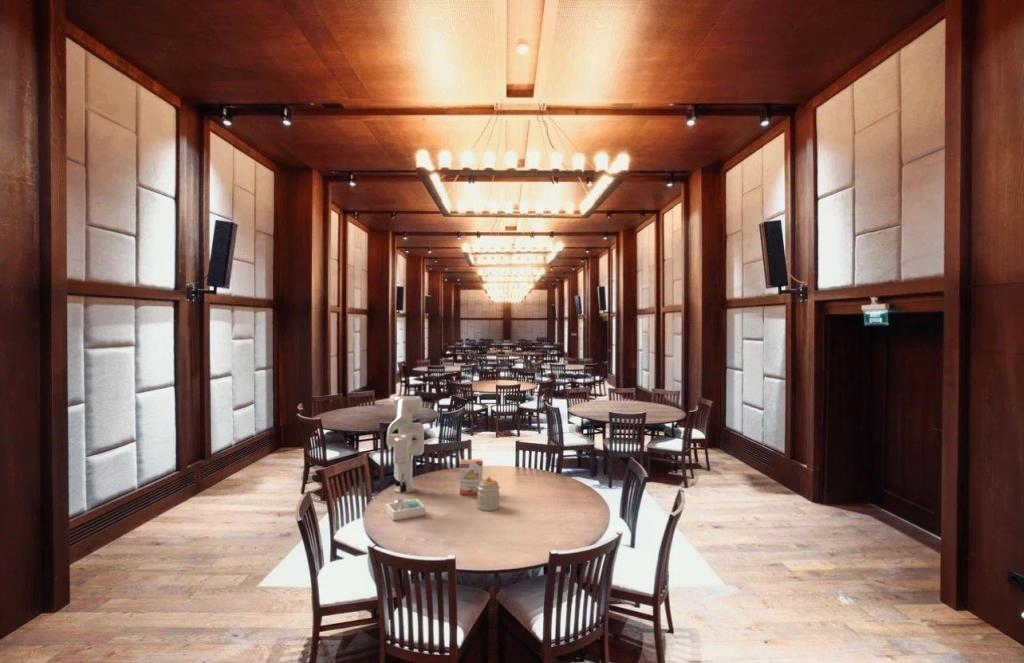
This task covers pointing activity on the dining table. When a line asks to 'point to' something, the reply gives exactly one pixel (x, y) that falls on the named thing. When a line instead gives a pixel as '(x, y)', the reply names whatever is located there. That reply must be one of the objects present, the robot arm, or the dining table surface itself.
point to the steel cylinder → (398, 504)
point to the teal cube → (412, 504)
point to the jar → (488, 495)
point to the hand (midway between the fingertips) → (400, 489)
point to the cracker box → (470, 476)
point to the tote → (405, 511)
